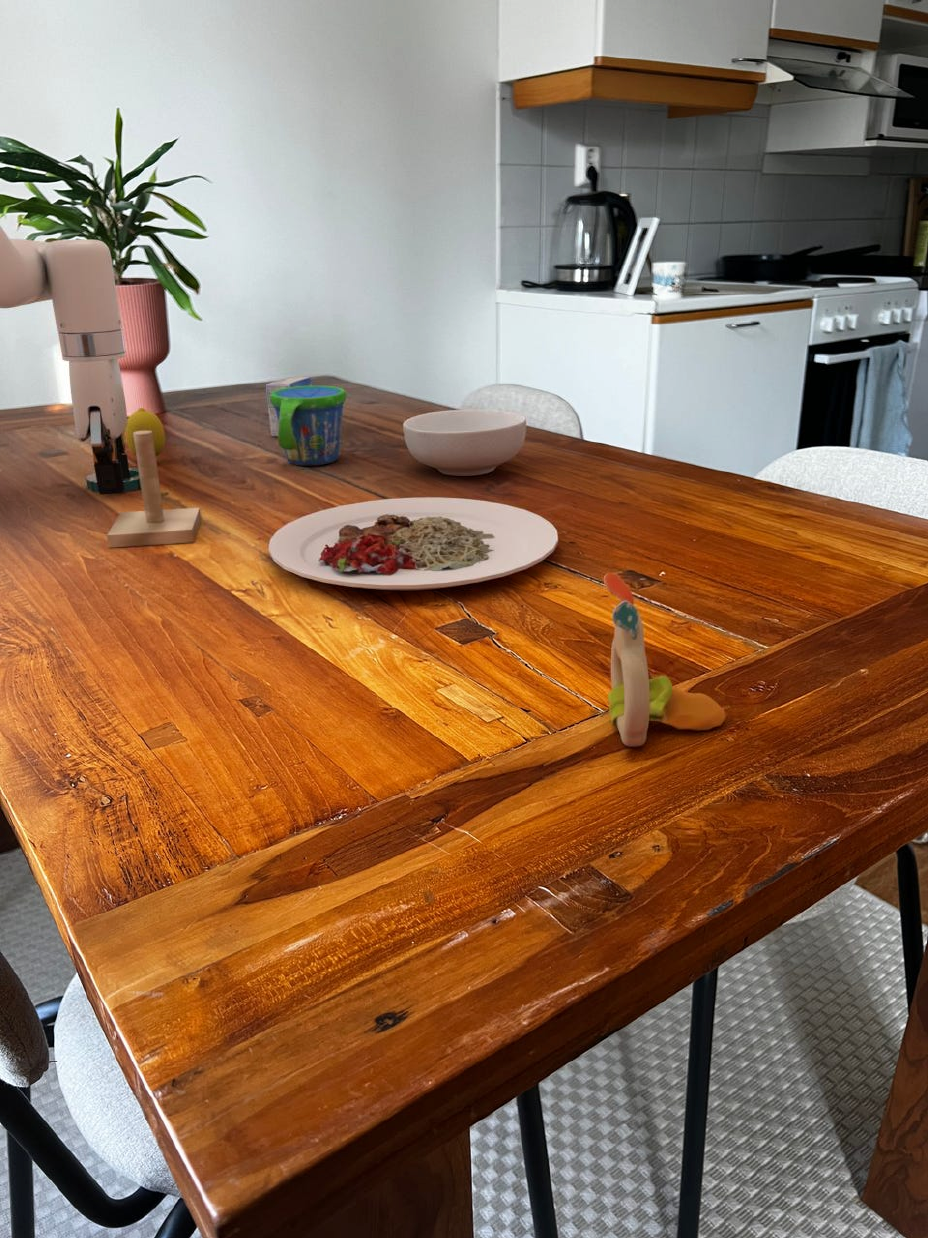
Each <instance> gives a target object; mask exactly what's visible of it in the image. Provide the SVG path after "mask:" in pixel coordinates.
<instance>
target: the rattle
mask: <svg viewBox="0 0 928 1238" xmlns="http://www.w3.org/2000/svg"><path fill="white" fill-rule="evenodd" d="M603 584H604V586H605V588H606V590H607V591H608V592H609V594H611V595H613V596H614V597H617V599H619V600H620V602H619V603H618V604H617V605H615V608H613V611H612V622H613V624H614V631H613V633H614V635H613V639H612V642H611V648H610V649H611V650H610V683H611V690H610V692H609V693H608V694H607V701H608V705H609V706H608V707H609V710H608V713H609V715H610V721H611V725H612V726H613V727H614V728H617V729H618V732H619V734H620V739H621V743H622V744H623V745H624V746H625V747H631V748H635V747H636V748H637V747H641V746H643V745H644V744H645V742H646V741H647V733H648V729H649V722H660V723H661V724H665V725H666V726H667V725H668V726H671V727H673V728H674V729H677V730H683V731H685V730H690V731H691V730H692V731H708V730H709V731H710V730H711V729H713V728H716V727H721V726H722V725H723V723H724V722H725V720H726V717H727V716H726V711H725V710H724V708H723V707H722V706H720V705H719V704H718V703H717V702H716V701H715V700H714V699H713V698H712V697H710V696H709V695H707V694H704V693H701V692H696V693H695V692H687V691H685V690H682V689H679V688H677V687H674V686H673V684H672V681H671V680H670V678H669V677H668V676H666V675H659V676H656V677H653V678H650V679H649V677H650V675H649V669H648V661H647V656H646V650H645V649H646V648H645V636H644V626H643V620H642V617H641V615H640V613H639V610H638V608H637V607H636V606H635V605H634V604H635V601H634V595H633V593H632V590H631V589H630V588H629V586H628V585H627V583H626V582H625V581H624V580H623V578H622V577H621V576H620V575H619V574H618V573H616V572H607V573H606V574H605V575H604V576H603Z"/></svg>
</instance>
